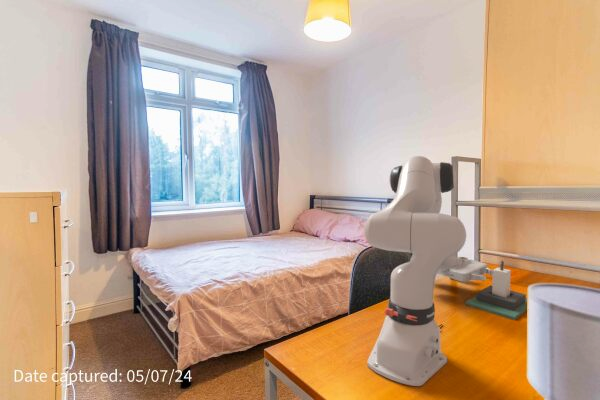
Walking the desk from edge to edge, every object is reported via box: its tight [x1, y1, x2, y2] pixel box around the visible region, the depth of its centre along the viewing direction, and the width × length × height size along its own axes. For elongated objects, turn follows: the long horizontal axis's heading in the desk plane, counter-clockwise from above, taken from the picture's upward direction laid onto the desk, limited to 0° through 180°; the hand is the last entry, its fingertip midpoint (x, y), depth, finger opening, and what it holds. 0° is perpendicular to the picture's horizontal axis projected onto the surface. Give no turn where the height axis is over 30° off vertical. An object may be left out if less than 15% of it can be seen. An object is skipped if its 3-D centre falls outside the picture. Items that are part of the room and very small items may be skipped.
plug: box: [491, 260, 512, 298], centre depth 114 cm, size 4×4×16 cm
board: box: [464, 285, 528, 321], centre depth 115 cm, size 22×16×4 cm
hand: (490, 276), depth 117 cm, fingers open, 8 cm apart
